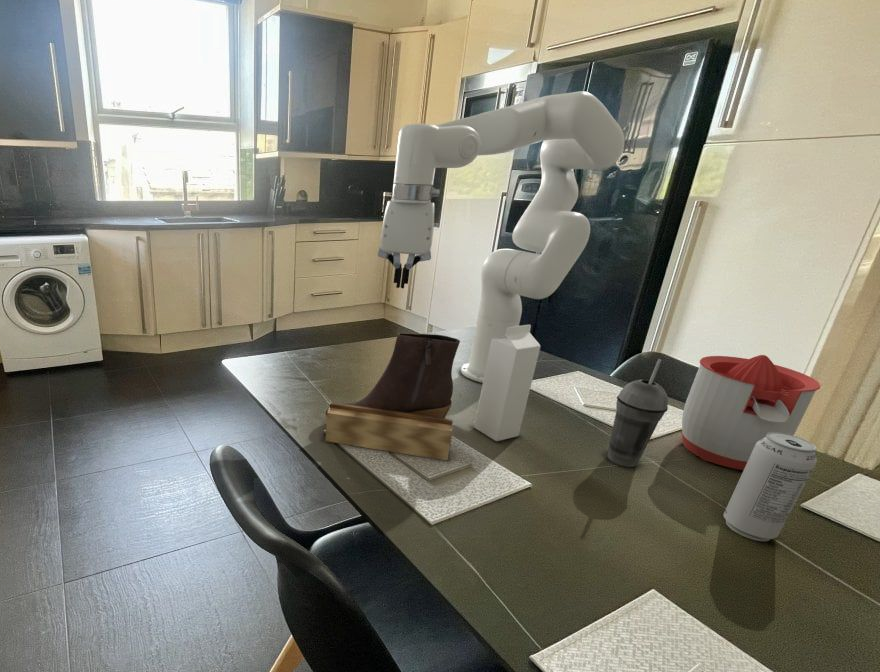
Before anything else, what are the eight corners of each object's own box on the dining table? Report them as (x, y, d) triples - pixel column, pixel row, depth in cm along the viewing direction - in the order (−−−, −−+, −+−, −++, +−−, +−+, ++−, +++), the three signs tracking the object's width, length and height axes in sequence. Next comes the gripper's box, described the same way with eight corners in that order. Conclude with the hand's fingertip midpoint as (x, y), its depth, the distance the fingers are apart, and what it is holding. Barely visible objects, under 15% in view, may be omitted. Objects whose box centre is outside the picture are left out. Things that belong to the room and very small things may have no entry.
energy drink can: (757, 520, 73) (800, 433, 68) (786, 547, 68) (835, 455, 62) (712, 513, 74) (750, 427, 69) (736, 539, 69) (780, 449, 63)
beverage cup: (638, 453, 90) (674, 353, 83) (652, 474, 84) (692, 368, 76) (594, 446, 92) (625, 347, 85) (604, 466, 86) (639, 361, 78)
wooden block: (446, 452, 89) (452, 419, 86) (447, 460, 86) (453, 427, 84) (327, 433, 94) (330, 402, 91) (325, 441, 91) (327, 408, 88)
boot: (322, 415, 101) (328, 322, 93) (438, 420, 100) (454, 327, 93) (324, 436, 93) (332, 337, 85) (451, 441, 92) (470, 342, 85)
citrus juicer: (689, 471, 85) (732, 366, 78) (658, 427, 100) (692, 335, 93) (803, 493, 80) (861, 383, 72) (753, 443, 95) (797, 347, 87)
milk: (518, 436, 95) (546, 329, 87) (495, 442, 93) (521, 332, 84) (494, 422, 100) (518, 320, 92) (472, 427, 98) (494, 322, 89)
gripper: (450, 195, 97) (436, 286, 104) (374, 192, 100) (366, 280, 107) (452, 196, 90) (437, 294, 97) (371, 193, 93) (362, 287, 100)
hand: (400, 286), depth 102 cm, fingers closed
